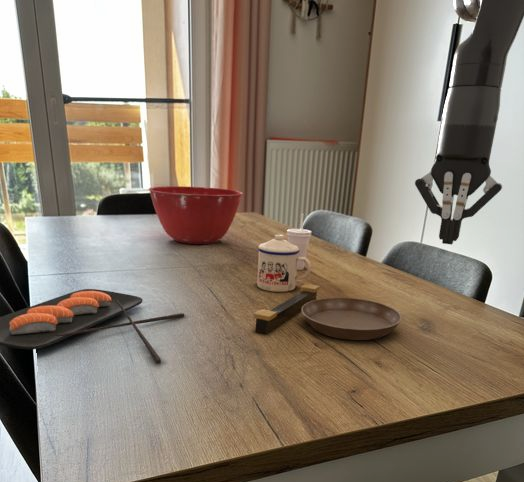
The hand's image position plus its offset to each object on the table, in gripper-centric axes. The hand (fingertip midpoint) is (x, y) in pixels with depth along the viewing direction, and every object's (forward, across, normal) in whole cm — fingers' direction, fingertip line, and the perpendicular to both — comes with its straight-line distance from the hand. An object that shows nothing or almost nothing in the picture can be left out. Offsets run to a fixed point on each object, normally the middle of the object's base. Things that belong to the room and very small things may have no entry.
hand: (447, 243), depth 81 cm
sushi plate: (+17, +48, +26) cm, 57 cm away
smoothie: (+17, +40, -37) cm, 57 cm away
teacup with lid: (+17, +35, -17) cm, 43 cm away
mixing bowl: (+17, +81, -52) cm, 98 cm away
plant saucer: (+17, +14, 0) cm, 22 cm away
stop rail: (+17, +26, 0) cm, 31 cm away
